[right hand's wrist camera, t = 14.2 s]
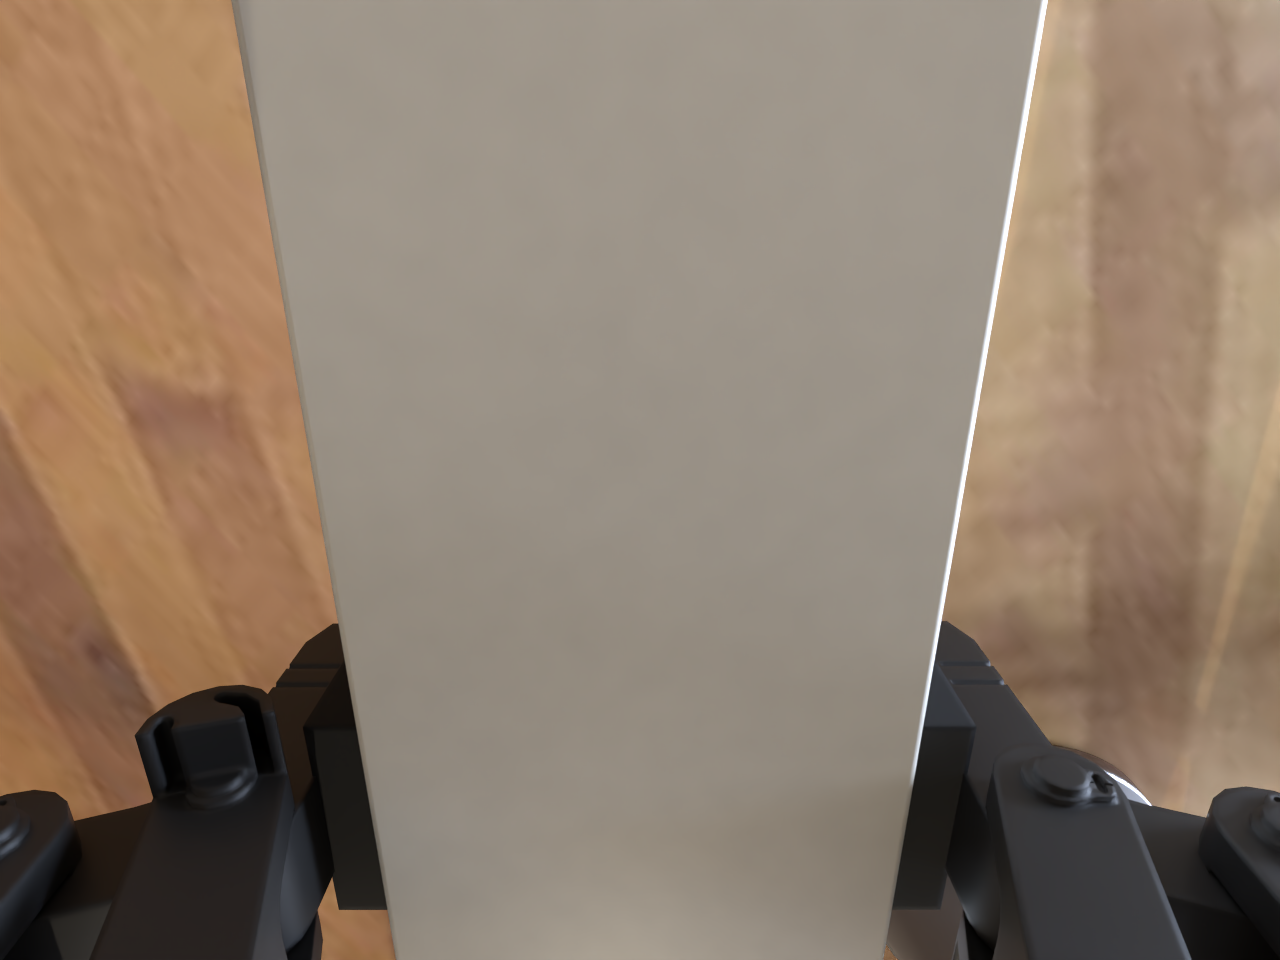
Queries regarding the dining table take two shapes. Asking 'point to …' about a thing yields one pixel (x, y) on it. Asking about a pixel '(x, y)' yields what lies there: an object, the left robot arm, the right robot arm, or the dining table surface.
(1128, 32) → the dining table surface
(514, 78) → the bar
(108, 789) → the dining table surface
